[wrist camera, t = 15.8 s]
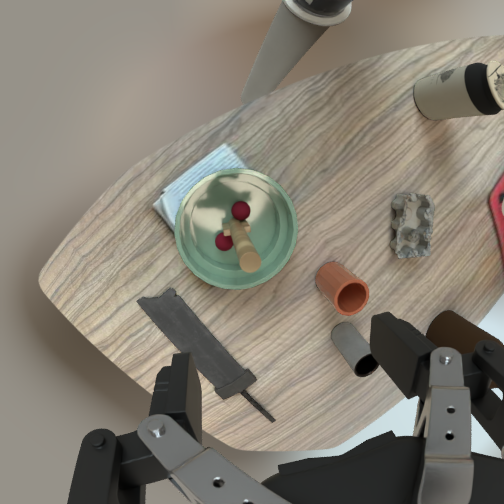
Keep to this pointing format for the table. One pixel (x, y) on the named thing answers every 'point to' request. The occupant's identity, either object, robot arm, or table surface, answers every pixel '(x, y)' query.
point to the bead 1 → (223, 242)
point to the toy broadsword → (200, 346)
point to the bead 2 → (240, 210)
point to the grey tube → (354, 349)
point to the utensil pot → (342, 288)
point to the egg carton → (412, 225)
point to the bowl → (219, 211)
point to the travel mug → (462, 92)
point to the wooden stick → (242, 244)
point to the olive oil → (457, 334)
